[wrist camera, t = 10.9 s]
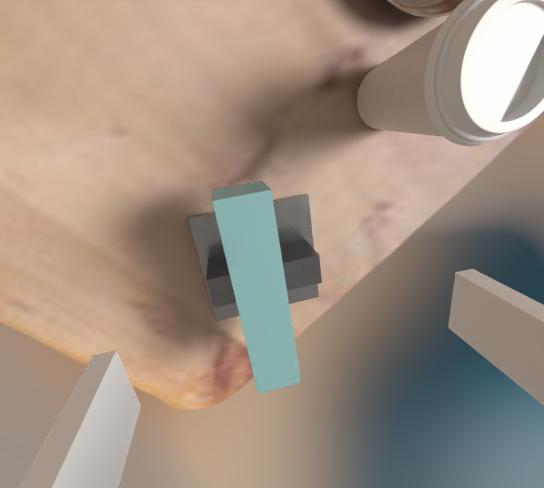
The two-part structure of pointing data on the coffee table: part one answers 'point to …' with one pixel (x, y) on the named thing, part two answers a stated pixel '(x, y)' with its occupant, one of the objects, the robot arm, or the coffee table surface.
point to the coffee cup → (463, 76)
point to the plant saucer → (426, 7)
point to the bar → (258, 281)
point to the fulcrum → (294, 250)
